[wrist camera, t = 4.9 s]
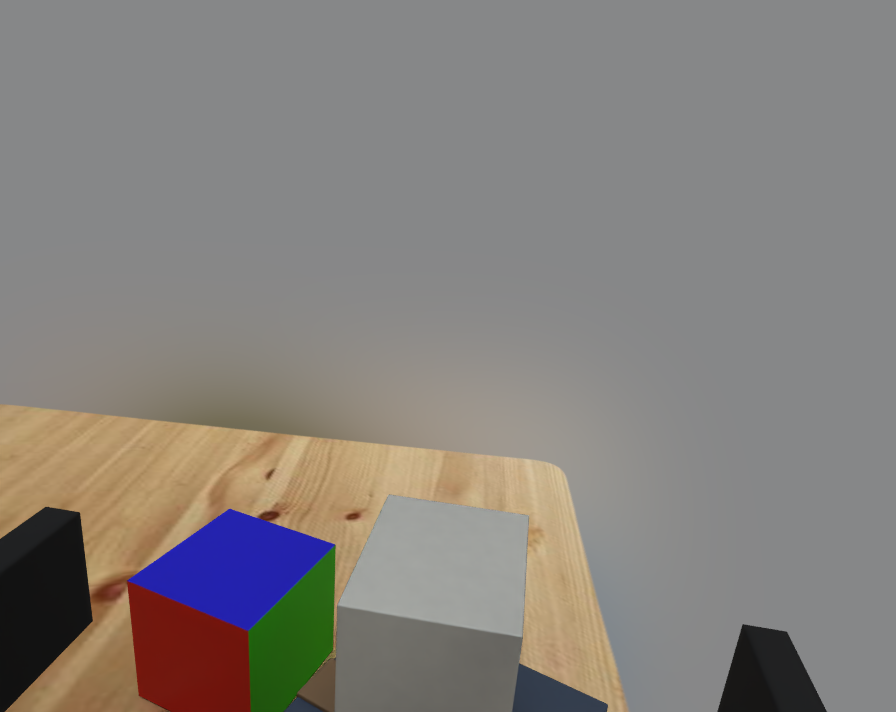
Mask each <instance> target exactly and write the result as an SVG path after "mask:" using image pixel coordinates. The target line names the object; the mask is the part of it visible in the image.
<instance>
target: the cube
mask: <svg viewBox="0 0 896 712" xmlns="http://www.w3.org/2000/svg"><path fill="white" fill-rule="evenodd" d="M335 547H336V545H335V544H332V543H329V542H326V541H323V540H320V539H317V538H314V537H311V536H308V535H306V534H303V533H300V532H297V531H294V530H291V529H288V528H285V527H282V526H279V525H276V524H273V523H270V522H267V521H264V520H261V519H258V518H255V517H252V516H249V515H247V514H244V513H241V512H238V511H235V510H232V509H228V510H227V511H226V512H224V513H223V514H221V515H220V516H218V517H217V518H216V519H214V520H213V521H211V522H210V523H209V524H207V525H206V526H204V527H203V528H201V529H200V530H199V531H197V532H196V533H194V534H193V535H191V536H190V537H189V538H187V539H186V540H184V541H183V542H181V543H180V544H179V545H177V546H176V547H174V548H173V549H172V550H170V551H169V552H167V553H166V554H164V555H163V556H162V557H160V558H159V559H157V560H156V561H154V562H153V563H152V564H150V565H149V566H147V567H146V568H144V569H143V570H142V571H140V572H139V573H137V574H136V575H135V576H133V577H132V578H130V579H129V580H127V584H128V594H129V604H130V614H131V624H132V633H133V643H134V653H135V663H136V672H137V682H138V692H139V696H141V697H143V698H145V699H147V700H149V701H151V702H153V703H155V704H157V705H159V706H161V707H163V708H165V709H167V710H169V711H171V712H284V710H285V709H286V708H287V707H288V705H289V704H290V703H291V702H292V700H293V699H294V698H295V697H296V695H297V692H298V691H299V690H300V689H301V688H302V687H303V686H304V685H305V684H306V683H307V682H308V680H309V679H310V678H311V677H312V675H313V674H314V673H315V672H316V670H317V669H318V668H319V666H320V665H321V664H322V663H323V661H324V660H325V659H326V658H327V656H328V655H329V654H330V653H331V651H332V650H333V628H334V588H335Z"/></svg>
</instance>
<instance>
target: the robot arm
mask: <svg viewBox="0 0 896 712" xmlns="http://www.w3.org/2000/svg"><path fill="white" fill-rule="evenodd" d="M92 621H93V619H92V611H91V602H90V594H89V585H88V577H87V568H86V560H85V552H84V543H83V535H82V526H81V518H80V512H74V511H68V510H62V509H56V508H50V507H45V508H43V509H42V510H41V511H39V512H38V513H36V514H35V515H34V516H32V517H31V518H29V519H28V520H26V521H25V522H24V523H22V524H21V525H19V526H18V527H17V528H15V529H14V530H12V531H11V532H9V533H8V534H7V535H5V536H4V537H2V538H1V539H0V712H5V711H6V710H7V709H8V708H9V707H10V706H11V705H12V704H13V703H14V702H15V701H16V700H17V699H18V697H19V696H20V695H21V694H22V693H23V692H24V691H25V690H26V689H27V688H28V687H29V686H30V685H31V684H32V683H33V682H34V681H35V680H36V679H37V678H38V677H39V676H40V675H41V674H42V673H43V672H44V671H45V670H46V669H47V668H48V667H49V666H50V665H51V663H52V662H53V661H54V660H55V659H56V658H57V657H58V656H59V655H60V654H61V653H62V652H63V651H64V650H65V649H66V648H67V647H68V646H69V645H70V644H71V643H72V642H73V641H74V640H75V639H76V638H77V637H78V636H79V635H80V634H81V633H82V632H83V631H84V629H85V628H86V627H87V626H88V625H89V624H90V623H91V622H92ZM718 712H827V711H826V709H825V707H824V705H823V703H822V701H821V699H820V697H819V695H818V693H817V691H816V689H815V687H814V685H813V683H812V681H811V679H810V677H809V675H808V673H807V671H806V669H805V667H804V665H803V663H802V661H801V659H800V657H799V655H798V654H797V651H796V649H795V647H794V645H793V643H792V641H791V639H790V637H789V635H788V633H787V632H785V631H779V630H773V629H767V628H761V627H755V626H750V625H744V624H743V625H742V629H741V633H740V636H739V639H738V642H737V646H736V649H735V653H734V657H733V660H732V663H731V667H730V670H729V674H728V677H727V681H726V684H725V688H724V691H723V694H722V698H721V702H720V705H719V708H718Z"/></svg>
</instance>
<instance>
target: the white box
mask: <svg viewBox="0 0 896 712" xmlns="http://www.w3.org/2000/svg"><path fill="white" fill-rule="evenodd" d="M528 525H529V516H528V515H523V514H516V513H510V512H503V511H496V510H490V509H483V508H476V507H470V506H463V505H456V504H449V503H443V502H436V501H429V500H423V499H416V498H409V497H403V496H396V495H388V497H387V499H386V501H385V503H384V505H383V508H382V510H381V512H380V514H379V516H378V518H377V521H376V523H375V525H374V527H373V529H372V531H371V534H370V536H369V538H368V540H367V542H366V544H365V546H364V549H363V551H362V553H361V555H360V557H359V559H358V562H357V564H356V566H355V568H354V570H353V572H352V574H351V577H350V579H349V581H348V583H347V585H346V587H345V590H344V592H343V594H342V596H341V598H340V600H339V603H338V605H337V636H336V675H335V712H512V709H513V702H514V695H515V688H516V681H517V674H518V667H519V660H520V653H521V646H522V639H523V623H524V604H525V584H526V564H527V545H528Z"/></svg>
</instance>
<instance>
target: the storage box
mask: <svg viewBox="0 0 896 712" xmlns="http://www.w3.org/2000/svg"><path fill="white" fill-rule="evenodd" d="M335 675H336V658H335V659H333V658H330V659H329V660H328V661H327V662H326V663H325V664H324V665H323V666H322V667H321V668H320V670H319V671H318V672H317V673H316V674H315V675H314V676H313V677H312V678H311V679H310V680H309V681H308V682H307V683H306V684H305V685H304V686H303V687H302V688H301V689H300V690H299V691H298V692H297V698H296V699H295V700H294V701H293V702H292V703H291V704H290V705H289V706H288V707H287V708H286V709H285V710H284V712H335ZM607 708H608V705H607V704H606V703H604V702H602V701H599V700H597V699H595V698H593V697H591V696H589V695H586V694H584V693H582V692H580V691H578V690H576V689H574V688H571V687H569V686H567V685H565V684H563V683H561V682H558V681H556V680H554V679H552V678H550V677H548V676H545V675H543V674H541V673H539V672H537V671H535V670H532V669H530V668H528V667H526V666H524V665H522V664H520V663H519V667H518V674H517V681H516V688H515V695H514V702H513V709H512V712H607Z"/></svg>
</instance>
